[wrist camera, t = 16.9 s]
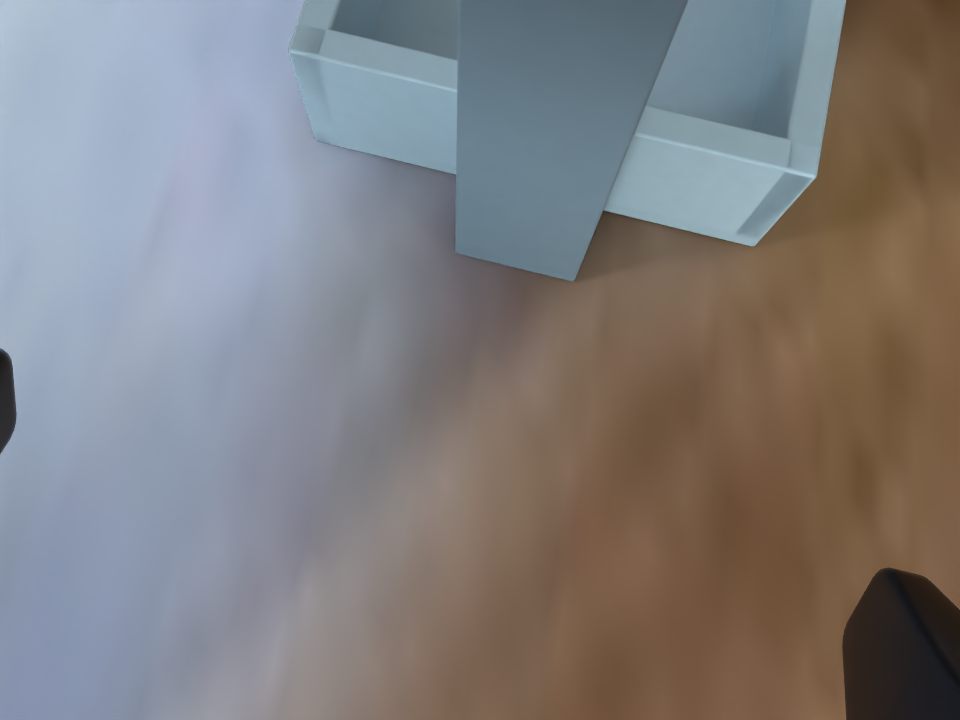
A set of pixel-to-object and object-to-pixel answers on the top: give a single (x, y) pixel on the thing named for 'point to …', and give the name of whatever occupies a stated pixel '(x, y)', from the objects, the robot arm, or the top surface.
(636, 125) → the pale blue channel tray
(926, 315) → the top surface
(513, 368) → the top surface
